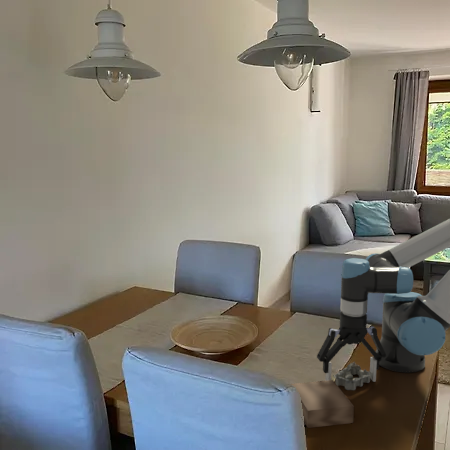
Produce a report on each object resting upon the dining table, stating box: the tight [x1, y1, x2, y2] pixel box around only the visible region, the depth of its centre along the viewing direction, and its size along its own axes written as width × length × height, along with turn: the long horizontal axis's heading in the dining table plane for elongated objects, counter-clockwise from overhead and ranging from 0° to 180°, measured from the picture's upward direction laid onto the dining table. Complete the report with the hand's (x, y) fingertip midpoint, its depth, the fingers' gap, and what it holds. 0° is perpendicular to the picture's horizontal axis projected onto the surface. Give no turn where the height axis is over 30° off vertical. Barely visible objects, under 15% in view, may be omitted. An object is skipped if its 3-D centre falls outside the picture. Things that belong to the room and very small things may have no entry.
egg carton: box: [332, 361, 372, 391], centre depth 149 cm, size 11×8×4 cm
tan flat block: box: [290, 379, 355, 429], centre depth 134 cm, size 12×14×5 cm
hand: (350, 381), depth 149 cm, fingers open, 13 cm apart
